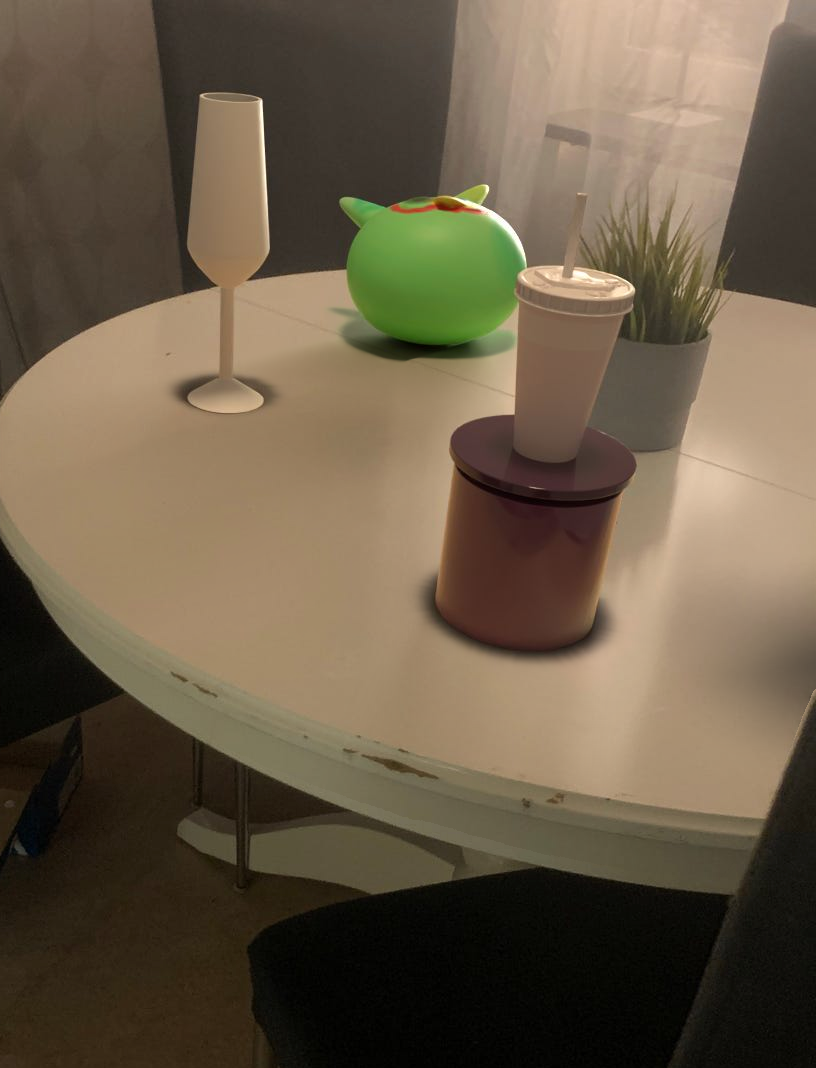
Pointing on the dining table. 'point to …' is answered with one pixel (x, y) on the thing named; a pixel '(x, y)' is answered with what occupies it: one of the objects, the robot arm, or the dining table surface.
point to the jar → (528, 536)
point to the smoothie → (563, 349)
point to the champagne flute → (228, 224)
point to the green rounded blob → (433, 267)
